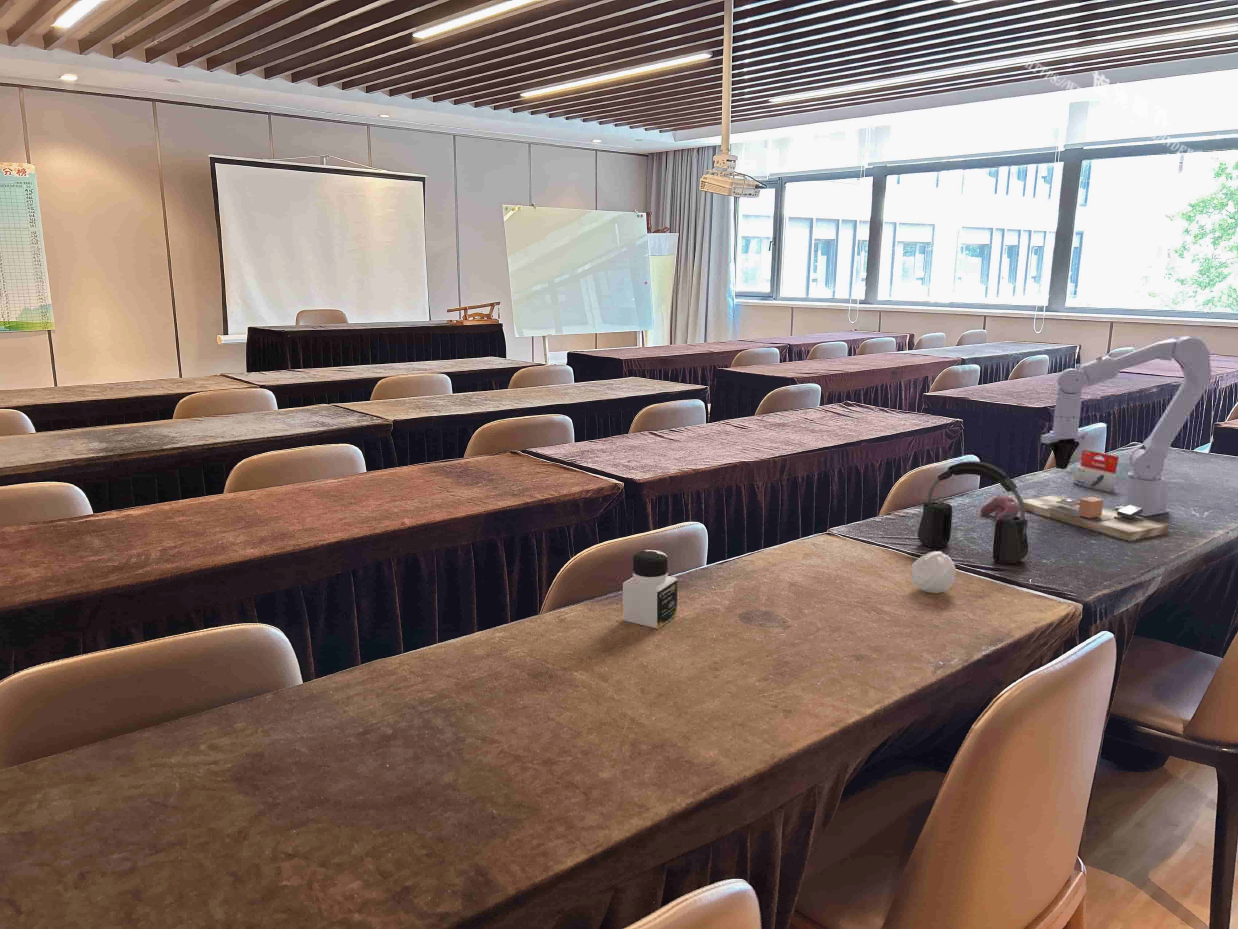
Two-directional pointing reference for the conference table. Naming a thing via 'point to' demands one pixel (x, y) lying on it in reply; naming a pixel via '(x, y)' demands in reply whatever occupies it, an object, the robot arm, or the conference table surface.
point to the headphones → (1007, 529)
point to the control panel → (1096, 519)
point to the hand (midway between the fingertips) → (1061, 468)
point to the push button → (1069, 502)
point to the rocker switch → (1129, 511)
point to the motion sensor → (933, 572)
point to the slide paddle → (1090, 507)
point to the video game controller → (1001, 507)
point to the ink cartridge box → (1096, 471)
